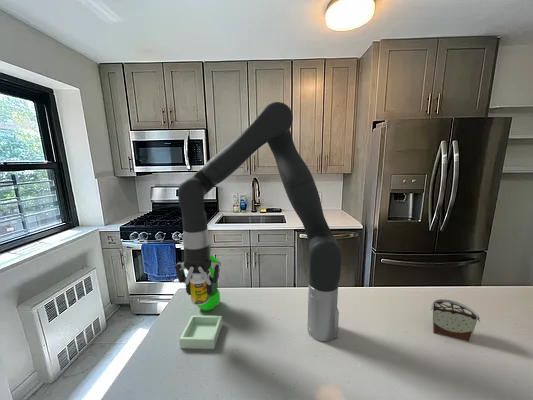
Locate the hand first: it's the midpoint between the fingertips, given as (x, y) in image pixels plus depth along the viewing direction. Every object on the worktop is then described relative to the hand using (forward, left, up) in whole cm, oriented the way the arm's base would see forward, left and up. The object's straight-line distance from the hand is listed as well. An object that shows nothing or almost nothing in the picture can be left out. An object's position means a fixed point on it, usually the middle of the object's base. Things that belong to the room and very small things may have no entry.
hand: (200, 293), depth 72 cm
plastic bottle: (+3, -15, -15) cm, 22 cm away
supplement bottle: (0, 0, -3) cm, 3 cm away
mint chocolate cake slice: (-81, -4, -15) cm, 83 cm away
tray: (0, 0, -15) cm, 15 cm away
